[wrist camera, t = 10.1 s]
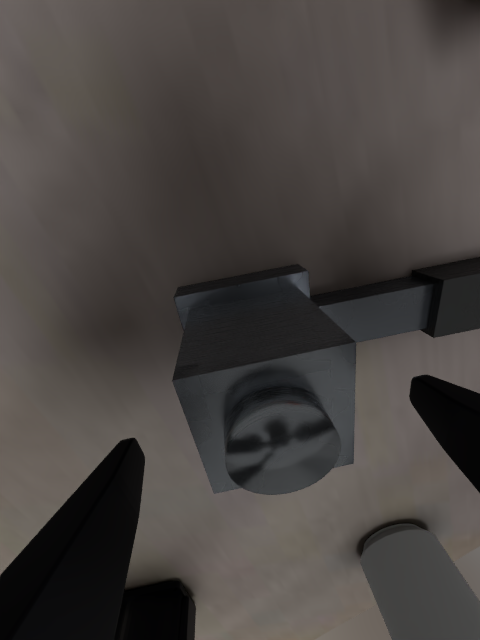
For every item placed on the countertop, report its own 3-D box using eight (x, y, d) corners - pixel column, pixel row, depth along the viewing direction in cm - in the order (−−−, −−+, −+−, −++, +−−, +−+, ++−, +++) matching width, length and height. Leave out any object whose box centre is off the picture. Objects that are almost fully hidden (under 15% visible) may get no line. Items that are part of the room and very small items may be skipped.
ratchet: (205, 383, 15) (203, 451, 11) (177, 287, 12) (160, 327, 8) (530, 317, 15) (648, 358, 11) (569, 210, 13) (740, 212, 8)
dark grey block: (213, 395, 13) (214, 527, 8) (188, 310, 11) (165, 408, 6) (305, 376, 13) (369, 492, 8) (297, 288, 11) (378, 363, 6)
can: (342, 560, 25) (441, 828, 14) (377, 516, 22) (533, 805, 12) (404, 561, 27) (536, 805, 16) (444, 520, 24) (637, 780, 13)
